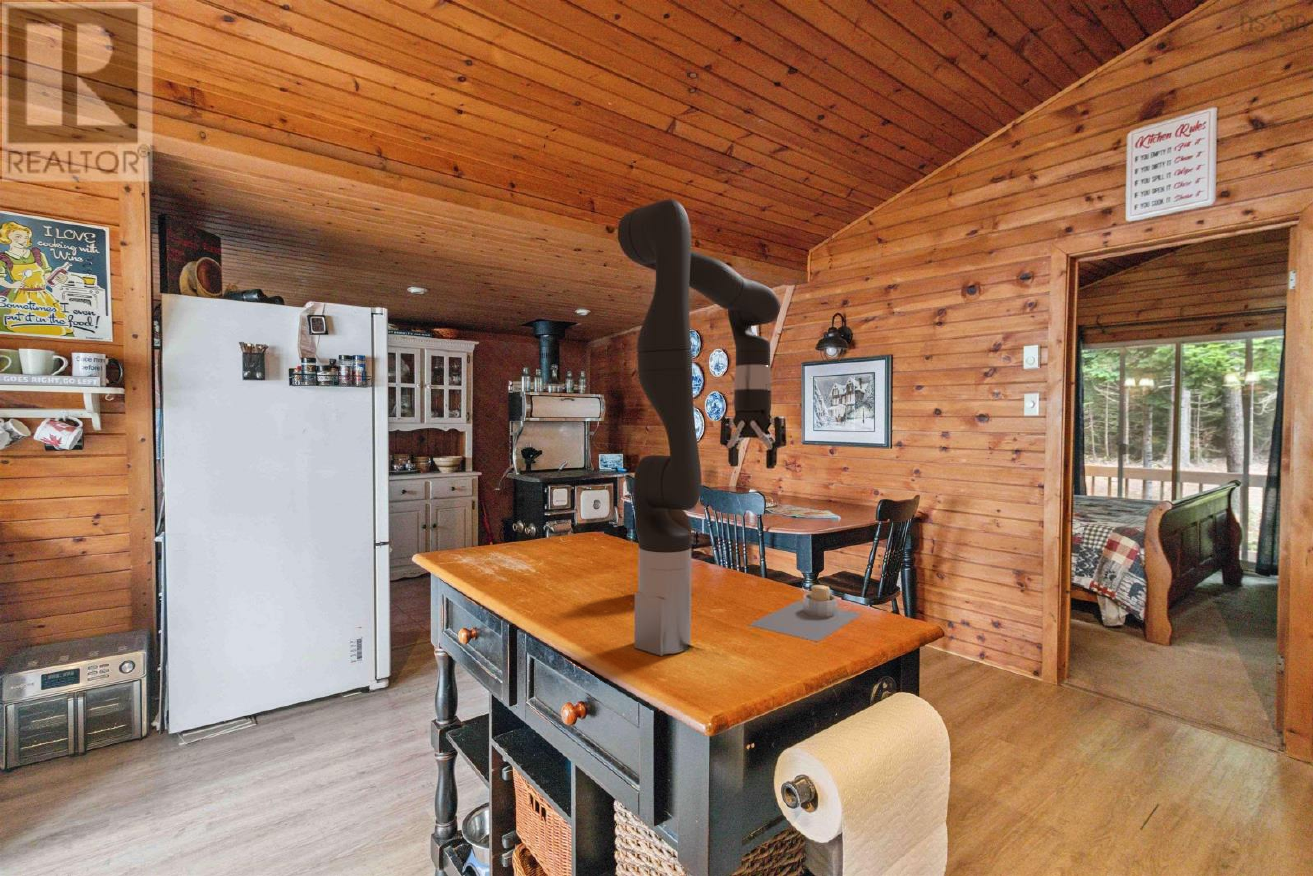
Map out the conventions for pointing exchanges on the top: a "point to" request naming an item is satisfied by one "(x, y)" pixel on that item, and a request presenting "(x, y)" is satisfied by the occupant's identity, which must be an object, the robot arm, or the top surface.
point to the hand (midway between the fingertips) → (752, 467)
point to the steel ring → (820, 606)
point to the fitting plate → (806, 619)
